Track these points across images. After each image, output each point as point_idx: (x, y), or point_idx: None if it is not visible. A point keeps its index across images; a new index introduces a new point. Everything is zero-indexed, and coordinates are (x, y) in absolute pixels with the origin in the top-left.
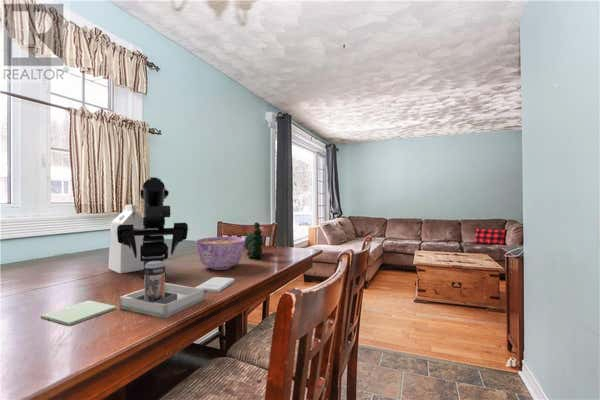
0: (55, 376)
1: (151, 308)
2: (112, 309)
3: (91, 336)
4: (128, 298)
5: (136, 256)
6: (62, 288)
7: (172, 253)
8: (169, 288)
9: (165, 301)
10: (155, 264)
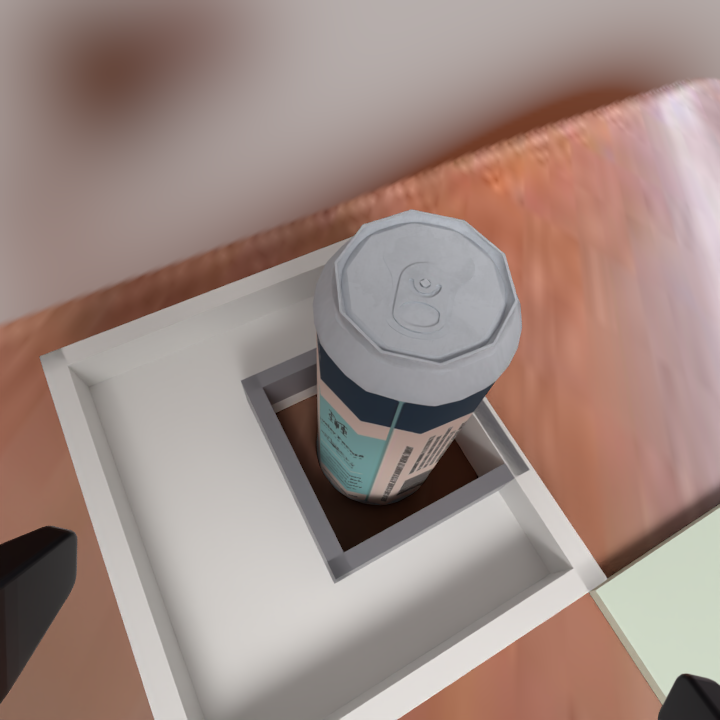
0: (689, 107)
1: None
2: (610, 577)
3: (653, 278)
4: (545, 490)
5: (672, 687)
6: None
7: (58, 534)
8: (188, 694)
9: None
10: (431, 218)
